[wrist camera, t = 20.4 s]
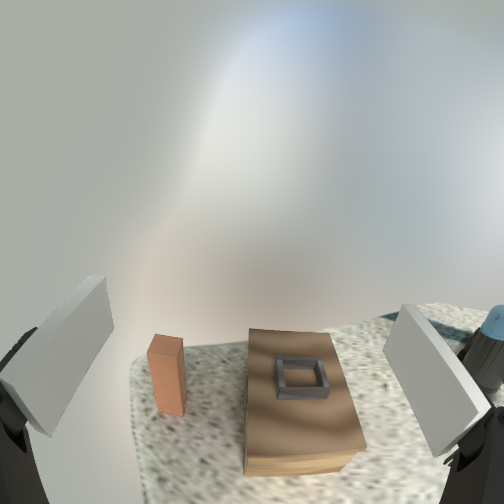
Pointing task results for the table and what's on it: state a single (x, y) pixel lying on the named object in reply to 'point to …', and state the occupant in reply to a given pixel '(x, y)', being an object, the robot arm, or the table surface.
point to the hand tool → (468, 346)
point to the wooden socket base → (297, 406)
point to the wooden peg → (168, 373)
